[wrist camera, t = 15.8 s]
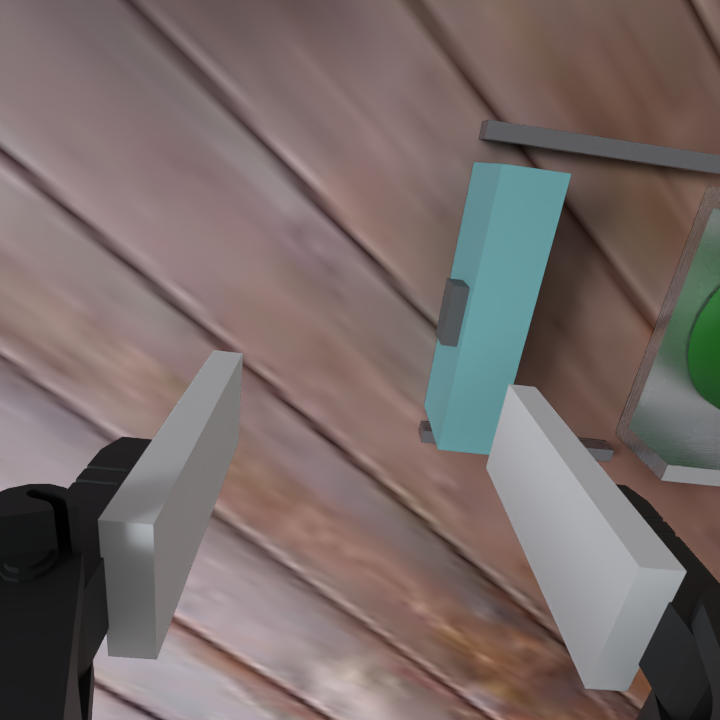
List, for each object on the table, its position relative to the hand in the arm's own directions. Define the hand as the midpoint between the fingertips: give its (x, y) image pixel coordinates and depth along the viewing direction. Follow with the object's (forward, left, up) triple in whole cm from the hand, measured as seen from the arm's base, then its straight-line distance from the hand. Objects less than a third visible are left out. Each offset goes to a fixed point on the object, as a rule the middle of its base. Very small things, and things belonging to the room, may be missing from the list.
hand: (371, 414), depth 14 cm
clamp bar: (0, +7, -15) cm, 16 cm away
